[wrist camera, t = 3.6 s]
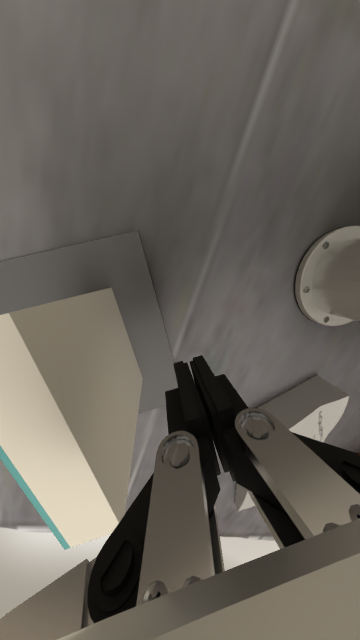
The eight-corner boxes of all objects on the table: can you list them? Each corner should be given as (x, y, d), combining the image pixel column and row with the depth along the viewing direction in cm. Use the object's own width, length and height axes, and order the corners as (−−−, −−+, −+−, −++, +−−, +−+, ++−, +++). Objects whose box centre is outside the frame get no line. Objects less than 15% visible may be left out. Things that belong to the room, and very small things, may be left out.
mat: (138, 231, 19) (137, 230, 18) (183, 396, 25) (184, 399, 24) (-77, 280, 17) (-85, 280, 17) (26, 443, 23) (22, 448, 23)
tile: (111, 287, 19) (8, 312, 6) (142, 378, 23) (122, 529, 9) (84, 294, 19) (-86, 336, 6) (119, 384, 22) (64, 549, 9)
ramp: (270, 504, 34) (291, 546, 29) (198, 495, 31) (206, 540, 25) (347, 384, 29) (389, 407, 24) (270, 357, 26) (300, 378, 20)
